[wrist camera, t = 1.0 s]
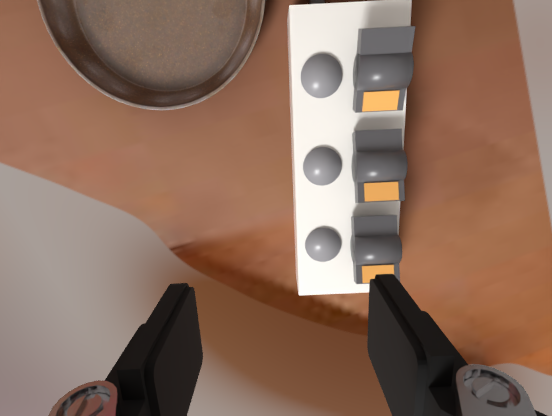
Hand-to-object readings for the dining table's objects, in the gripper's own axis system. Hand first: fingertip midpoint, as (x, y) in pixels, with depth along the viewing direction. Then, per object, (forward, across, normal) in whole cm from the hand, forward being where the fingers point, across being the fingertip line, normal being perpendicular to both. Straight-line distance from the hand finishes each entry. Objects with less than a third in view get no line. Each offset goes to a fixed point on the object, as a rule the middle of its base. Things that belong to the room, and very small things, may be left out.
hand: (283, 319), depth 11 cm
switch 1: (+17, -8, -10) cm, 21 cm away
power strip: (+22, -6, -6) cm, 23 cm away
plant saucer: (+22, +9, -16) cm, 29 cm away
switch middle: (+17, -8, -2) cm, 19 cm away
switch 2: (+17, -8, +5) cm, 20 cm away
